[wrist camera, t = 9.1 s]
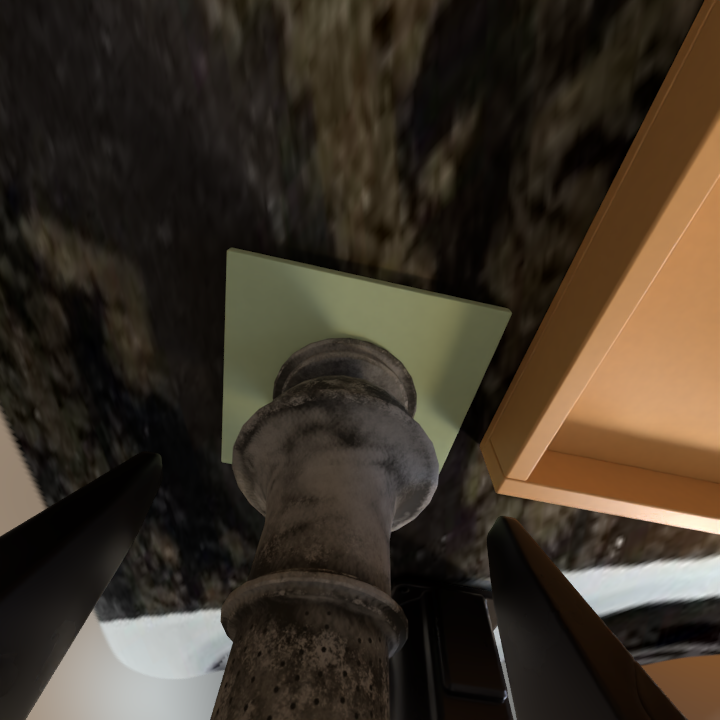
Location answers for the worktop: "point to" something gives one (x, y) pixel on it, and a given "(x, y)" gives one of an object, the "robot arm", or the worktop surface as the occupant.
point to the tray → (634, 329)
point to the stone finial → (325, 536)
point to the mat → (351, 320)
